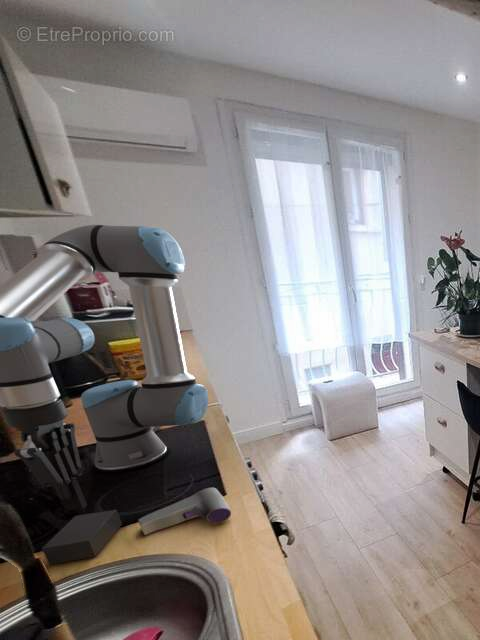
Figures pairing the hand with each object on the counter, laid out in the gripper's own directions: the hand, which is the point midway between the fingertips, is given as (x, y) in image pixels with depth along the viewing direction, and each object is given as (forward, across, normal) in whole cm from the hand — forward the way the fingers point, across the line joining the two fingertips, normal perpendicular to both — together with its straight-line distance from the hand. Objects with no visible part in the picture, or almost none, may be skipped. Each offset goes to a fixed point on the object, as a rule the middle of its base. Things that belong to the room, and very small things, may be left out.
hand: (76, 508), depth 85 cm
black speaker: (+6, -5, 0) cm, 8 cm away
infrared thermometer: (+9, -1, +17) cm, 19 cm away
